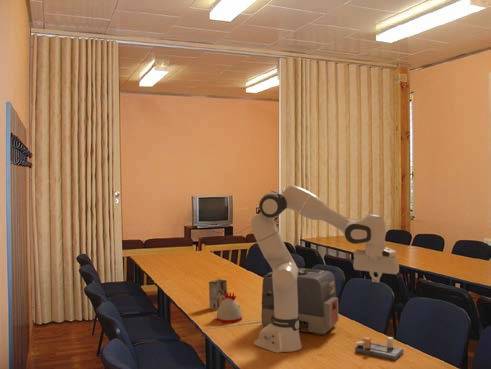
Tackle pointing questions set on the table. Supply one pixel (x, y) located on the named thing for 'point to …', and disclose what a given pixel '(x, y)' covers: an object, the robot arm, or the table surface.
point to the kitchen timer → (229, 310)
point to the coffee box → (217, 293)
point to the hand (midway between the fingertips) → (375, 281)
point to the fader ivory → (390, 342)
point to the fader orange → (367, 342)
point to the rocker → (360, 343)
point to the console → (380, 351)
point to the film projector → (307, 300)
